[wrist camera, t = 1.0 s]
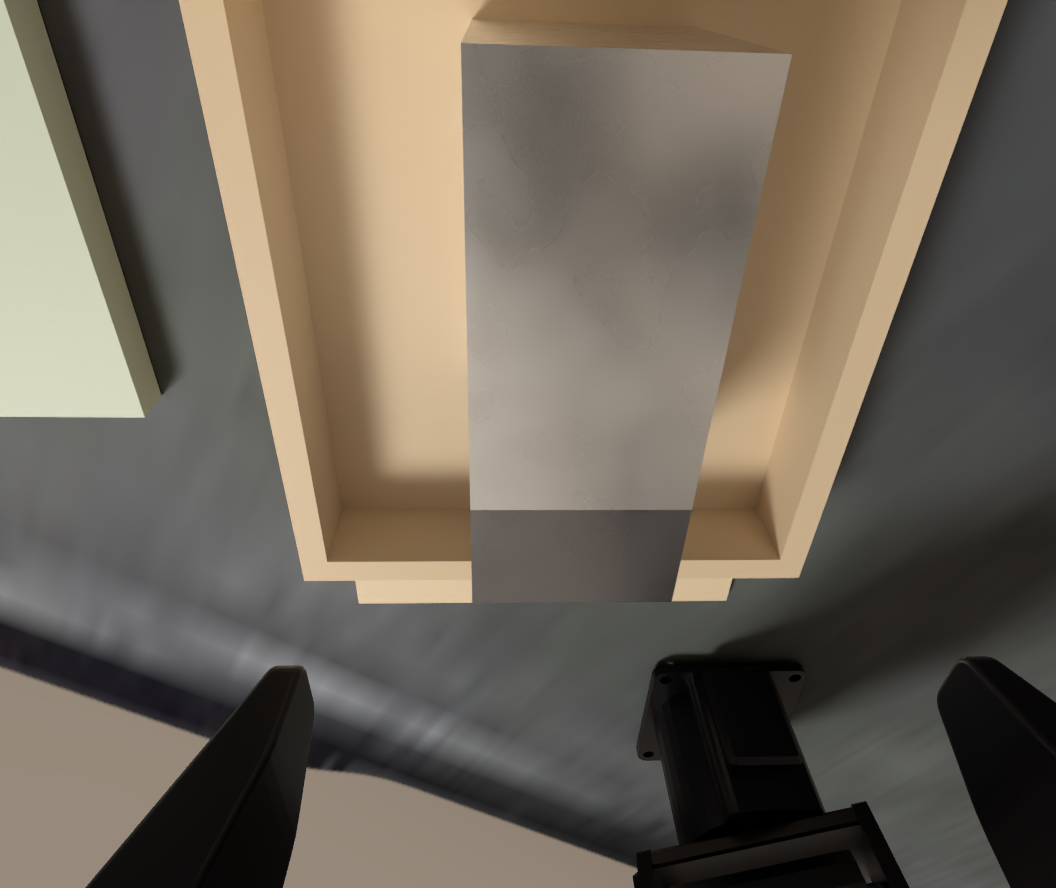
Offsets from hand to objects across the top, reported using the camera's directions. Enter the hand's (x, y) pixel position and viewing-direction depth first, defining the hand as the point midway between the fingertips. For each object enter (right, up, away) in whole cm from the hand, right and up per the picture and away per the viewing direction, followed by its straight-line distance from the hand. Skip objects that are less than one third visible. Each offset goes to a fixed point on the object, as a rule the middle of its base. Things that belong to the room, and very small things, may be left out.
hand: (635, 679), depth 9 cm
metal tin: (0, +8, +9) cm, 12 cm away
